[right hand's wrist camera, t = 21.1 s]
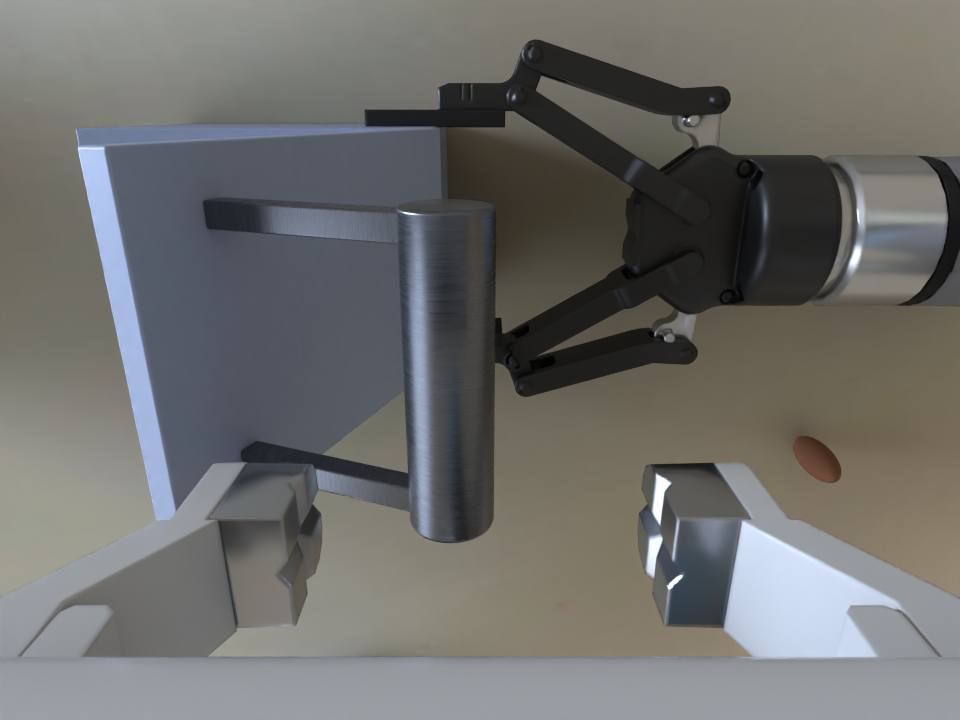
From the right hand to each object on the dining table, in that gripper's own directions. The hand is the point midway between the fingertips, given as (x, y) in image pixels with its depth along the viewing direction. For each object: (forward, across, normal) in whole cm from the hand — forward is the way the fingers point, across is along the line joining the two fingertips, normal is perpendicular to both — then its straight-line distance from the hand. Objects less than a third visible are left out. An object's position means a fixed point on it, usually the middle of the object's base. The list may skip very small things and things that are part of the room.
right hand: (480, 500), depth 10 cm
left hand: (+25, -5, 0) cm, 25 cm away
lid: (+13, -5, 0) cm, 14 cm away
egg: (+31, +22, -16) cm, 41 cm away
